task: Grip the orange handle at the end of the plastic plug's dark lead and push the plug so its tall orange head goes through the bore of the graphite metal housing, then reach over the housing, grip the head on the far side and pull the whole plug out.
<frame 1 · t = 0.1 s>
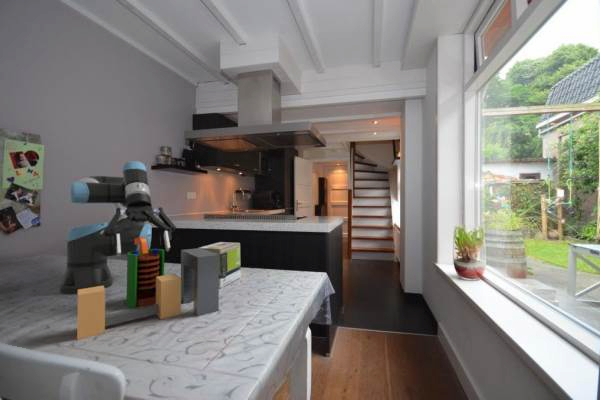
hand: (144, 252, 84), 15 cm above the table, tool tilted 35°, fingers open, 13 cm apart
plug: (168, 313, 74), on the table
tea box: (220, 282, 104), on the table
motor: (144, 302, 83), on the table
housing: (198, 305, 80), on the table
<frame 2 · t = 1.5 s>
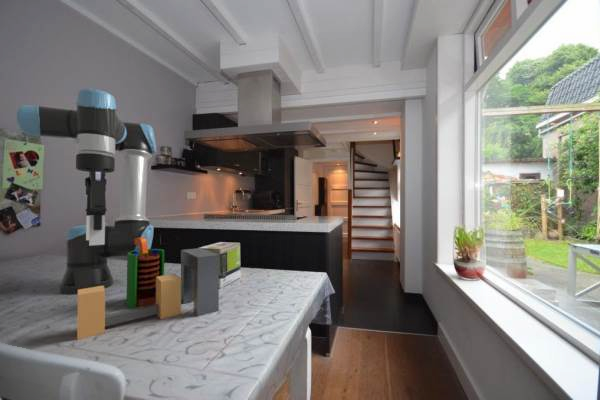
hand: (94, 242, 64), 21 cm above the table, tool pointing down, fingers open, 13 cm apart
nothing on the table moved.
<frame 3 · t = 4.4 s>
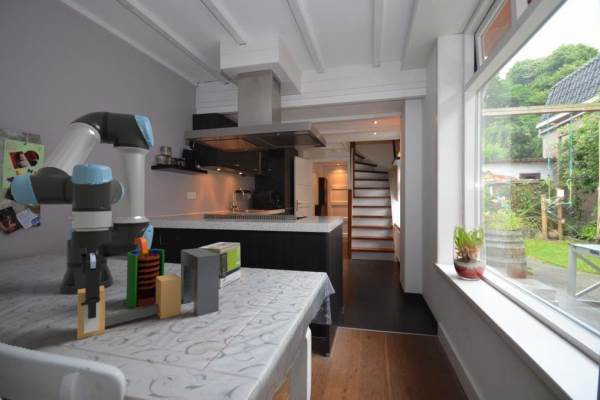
hand: (91, 326, 63), 1 cm above the table, tool pointing down, fingers closed on plug, 5 cm apart
plug: (168, 313, 74), on the table, touching gripper
everything else where it was.
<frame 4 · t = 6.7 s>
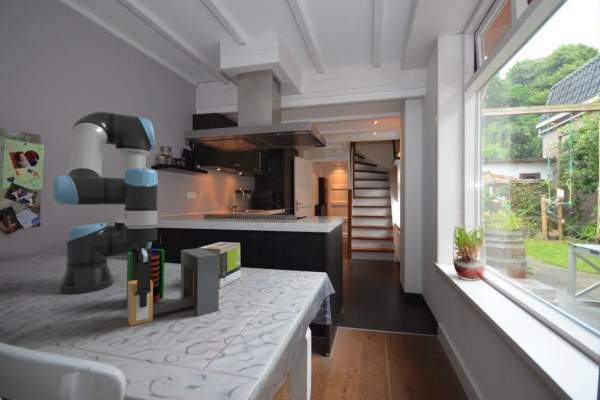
hand: (140, 315, 70), 1 cm above the table, tool pointing down, fingers closed on plug, 5 cm apart
plug: (204, 304, 81), on the table, touching gripper
everything else where it was.
when the fingers open (1 cm above the table, at t = 9.0 s): plug stays where it is, on the table.
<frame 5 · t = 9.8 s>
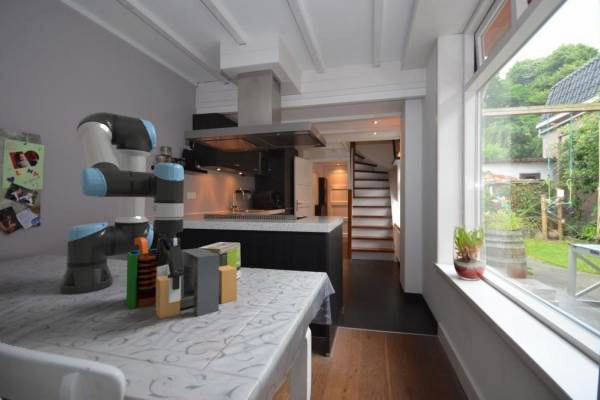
hand: (167, 294, 75), 5 cm above the table, tool pointing down, fingers open, 13 cm apart
plug: (225, 299, 85), on the table
everything else where it was.
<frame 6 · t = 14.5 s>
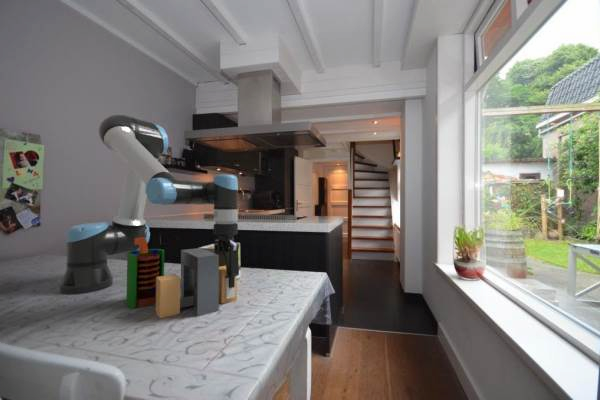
hand: (225, 294, 85), 1 cm above the table, tool pointing down, fingers closed on plug, 6 cm apart
plug: (225, 299, 85), on the table, touching gripper
everything else where it was.
when the fingers open (1 cm above the table, at t = 18.9 s): plug stays where it is, on the table.
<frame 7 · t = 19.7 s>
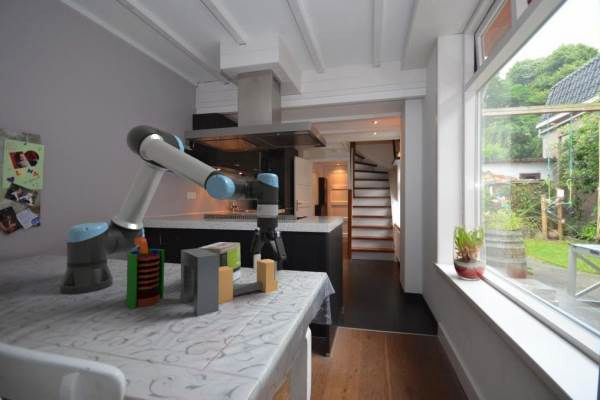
hand: (266, 275, 96), 5 cm above the table, tool pointing down, fingers open, 13 cm apart
plug: (267, 289, 96), on the table
everything else where it was.
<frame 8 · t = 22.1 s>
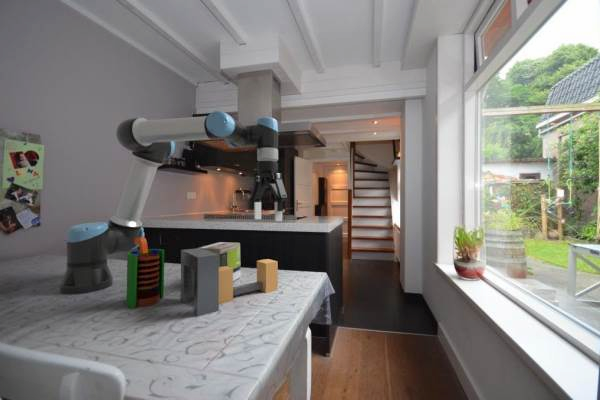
hand: (267, 220, 96), 25 cm above the table, tool pointing down, fingers open, 13 cm apart
nothing on the table moved.
at the end: plug inside the target area on the table beside the housing (3.2 cm from its centre), on the table; the gripper is holding nothing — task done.
